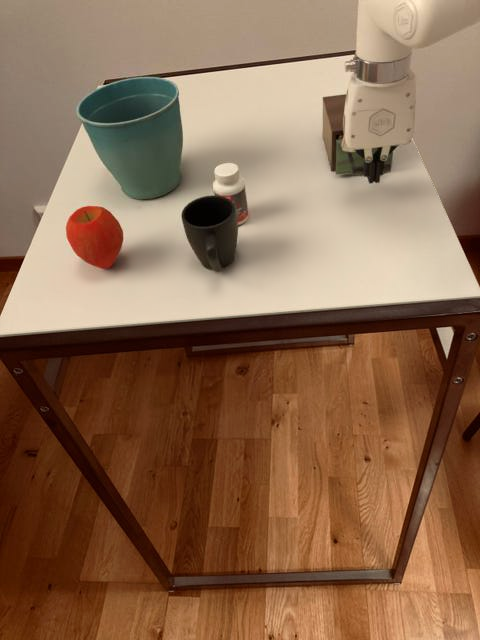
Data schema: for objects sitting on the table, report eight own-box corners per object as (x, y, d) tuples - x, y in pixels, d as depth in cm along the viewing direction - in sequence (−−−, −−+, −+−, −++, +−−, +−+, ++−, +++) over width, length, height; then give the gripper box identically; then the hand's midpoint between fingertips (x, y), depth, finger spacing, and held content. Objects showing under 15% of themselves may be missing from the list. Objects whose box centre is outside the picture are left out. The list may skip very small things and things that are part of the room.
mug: (191, 296, 78) (178, 248, 71) (193, 245, 86) (182, 198, 79) (245, 289, 77) (237, 241, 70) (241, 240, 85) (234, 191, 78)
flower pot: (104, 170, 106) (74, 89, 94) (187, 150, 107) (169, 67, 95) (110, 219, 94) (77, 133, 81) (204, 196, 95) (186, 108, 83)
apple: (141, 252, 86) (123, 199, 78) (115, 286, 81) (93, 233, 73) (100, 244, 89) (78, 192, 81) (72, 276, 84) (46, 224, 76)
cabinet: (391, 164, 95) (395, 123, 89) (331, 171, 96) (331, 131, 90) (377, 129, 104) (380, 89, 98) (322, 135, 105) (322, 96, 99)
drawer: (398, 187, 88) (403, 155, 84) (341, 194, 89) (342, 162, 84) (378, 134, 101) (380, 103, 96) (327, 140, 102) (328, 109, 97)
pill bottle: (223, 230, 88) (214, 181, 80) (215, 213, 91) (206, 165, 84) (253, 222, 88) (246, 172, 81) (243, 205, 92) (237, 156, 85)
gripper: (332, 83, 70) (330, 196, 83) (444, 69, 68) (424, 186, 82) (325, 61, 75) (325, 171, 88) (429, 48, 73) (412, 161, 87)
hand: (372, 178), depth 85 cm, fingers closed
